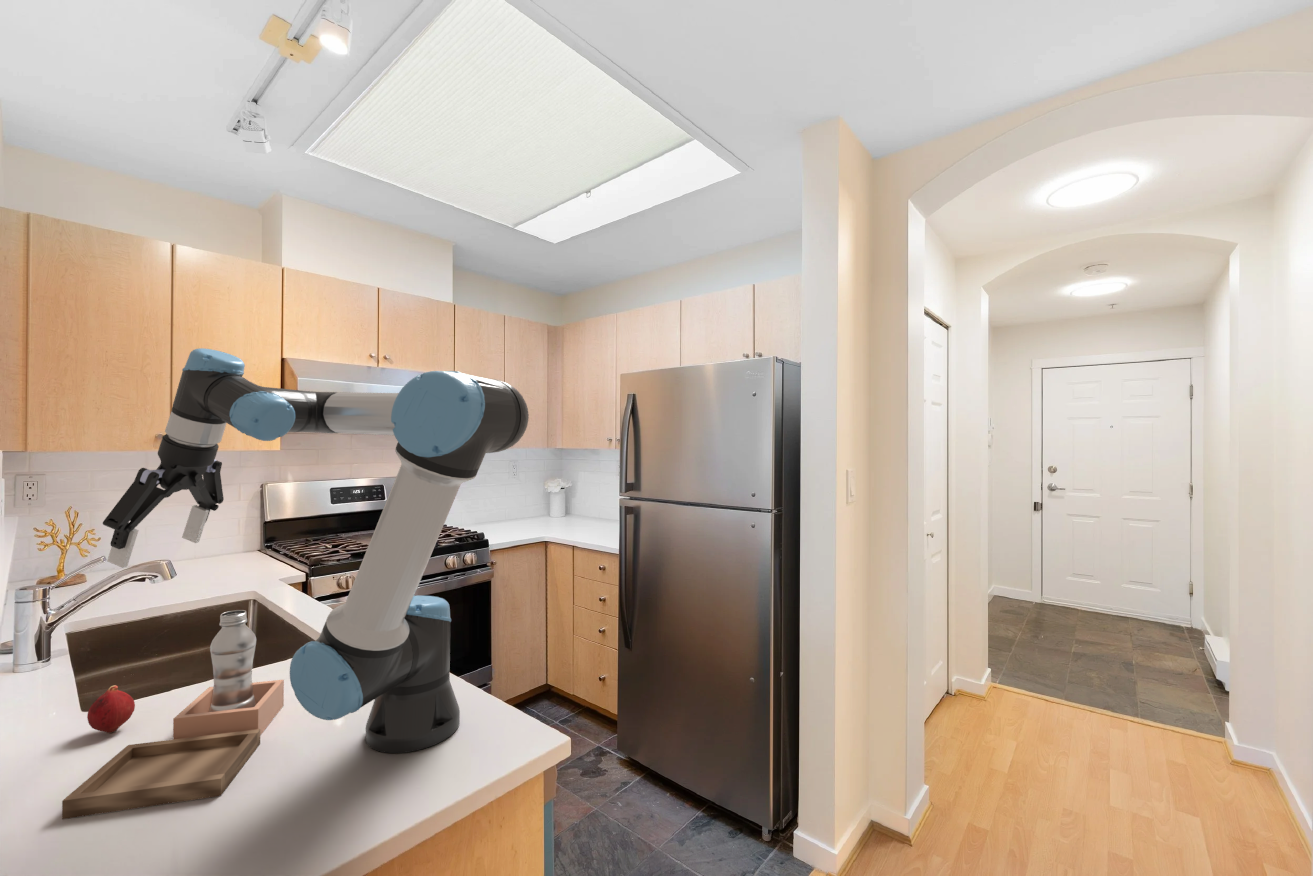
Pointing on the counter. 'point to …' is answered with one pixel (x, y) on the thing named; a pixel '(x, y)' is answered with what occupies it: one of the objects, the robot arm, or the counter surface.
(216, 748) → the tray
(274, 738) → the counter surface
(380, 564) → the robot arm
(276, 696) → the wooden box frame
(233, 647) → the plastic bottle
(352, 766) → the counter surface
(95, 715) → the onion
